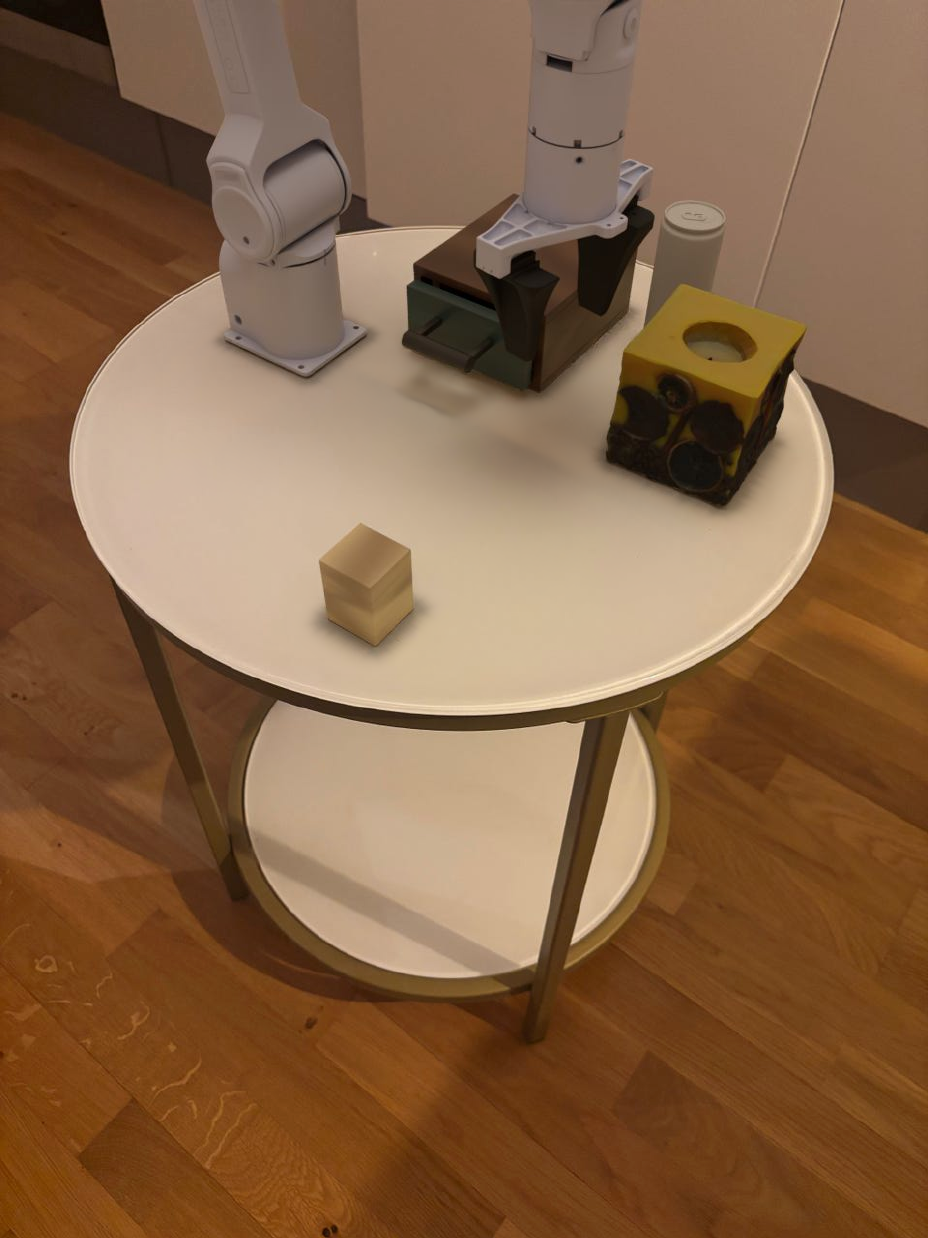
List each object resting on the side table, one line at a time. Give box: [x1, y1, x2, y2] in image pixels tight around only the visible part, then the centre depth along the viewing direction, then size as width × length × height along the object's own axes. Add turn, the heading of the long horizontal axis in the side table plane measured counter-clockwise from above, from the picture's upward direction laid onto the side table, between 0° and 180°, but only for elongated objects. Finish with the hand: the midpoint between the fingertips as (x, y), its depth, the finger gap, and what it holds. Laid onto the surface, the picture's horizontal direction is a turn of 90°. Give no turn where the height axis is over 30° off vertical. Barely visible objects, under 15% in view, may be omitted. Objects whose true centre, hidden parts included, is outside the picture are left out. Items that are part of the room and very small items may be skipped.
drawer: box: [401, 279, 534, 392], centre depth 80 cm, size 18×11×5 cm, turn 145°
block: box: [318, 522, 415, 647], centre depth 61 cm, size 4×4×6 cm
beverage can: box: [642, 199, 727, 329], centre depth 78 cm, size 5×5×12 cm
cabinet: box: [412, 193, 639, 393], centre depth 82 cm, size 15×13×7 cm
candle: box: [605, 284, 808, 508], centre depth 70 cm, size 10×10×10 cm
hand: (557, 331), depth 67 cm, fingers open, 7 cm apart
